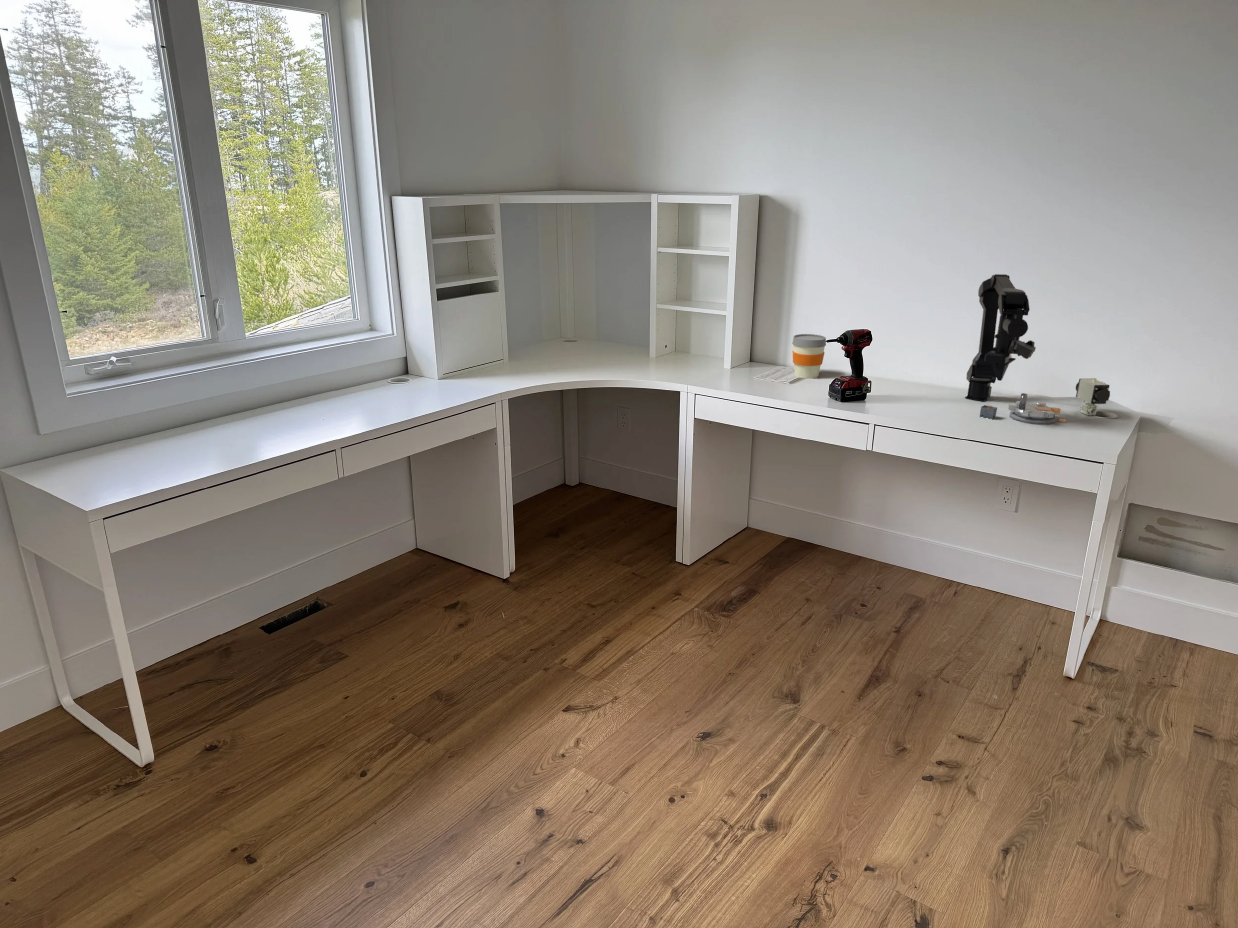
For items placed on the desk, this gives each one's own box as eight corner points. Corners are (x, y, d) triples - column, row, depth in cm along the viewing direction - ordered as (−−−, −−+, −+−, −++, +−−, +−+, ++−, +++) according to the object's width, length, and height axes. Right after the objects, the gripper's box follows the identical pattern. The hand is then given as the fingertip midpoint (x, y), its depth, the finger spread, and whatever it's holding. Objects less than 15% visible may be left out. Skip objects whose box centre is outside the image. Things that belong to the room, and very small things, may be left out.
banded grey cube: (979, 417, 268) (981, 406, 267) (983, 415, 270) (984, 404, 269) (992, 419, 265) (993, 409, 264) (995, 417, 268) (997, 407, 266)
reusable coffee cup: (783, 375, 320) (786, 336, 315) (803, 370, 328) (806, 332, 323) (809, 381, 311) (813, 341, 306) (829, 376, 319) (833, 337, 314)
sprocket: (1028, 422, 258) (1032, 400, 256) (999, 408, 272) (1002, 388, 270) (1068, 420, 261) (1073, 398, 258) (1037, 407, 275) (1041, 386, 272)
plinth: (1003, 418, 267) (1003, 415, 266) (1017, 409, 276) (1018, 407, 276) (1056, 428, 256) (1056, 425, 256) (1069, 419, 266) (1070, 416, 266)
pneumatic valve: (1091, 419, 266) (1099, 383, 262) (1070, 409, 277) (1077, 374, 273) (1108, 419, 267) (1115, 382, 262) (1086, 409, 278) (1093, 374, 273)
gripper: (1026, 339, 247) (1017, 390, 252) (1043, 331, 260) (1035, 379, 266) (987, 334, 254) (979, 384, 259) (1006, 326, 267) (998, 374, 272)
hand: (999, 380), depth 264 cm, fingers closed
